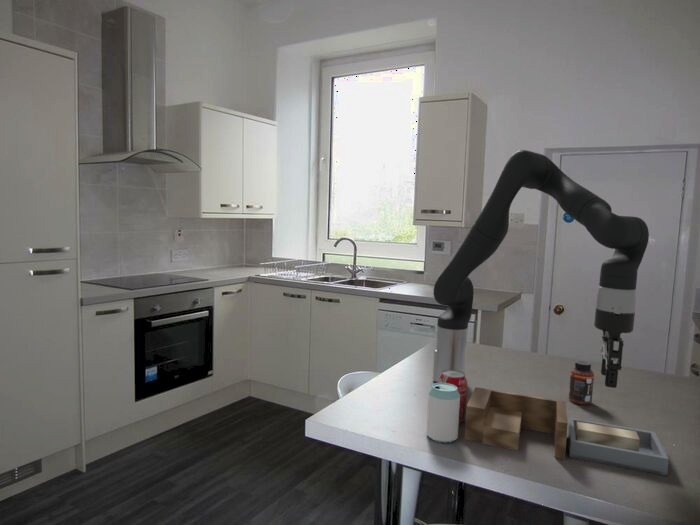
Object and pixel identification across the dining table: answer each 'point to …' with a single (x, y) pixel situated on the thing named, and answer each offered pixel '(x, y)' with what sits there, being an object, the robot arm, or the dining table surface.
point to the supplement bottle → (581, 383)
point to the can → (443, 412)
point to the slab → (607, 436)
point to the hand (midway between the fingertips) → (608, 380)
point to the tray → (621, 450)
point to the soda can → (461, 383)
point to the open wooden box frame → (514, 418)
